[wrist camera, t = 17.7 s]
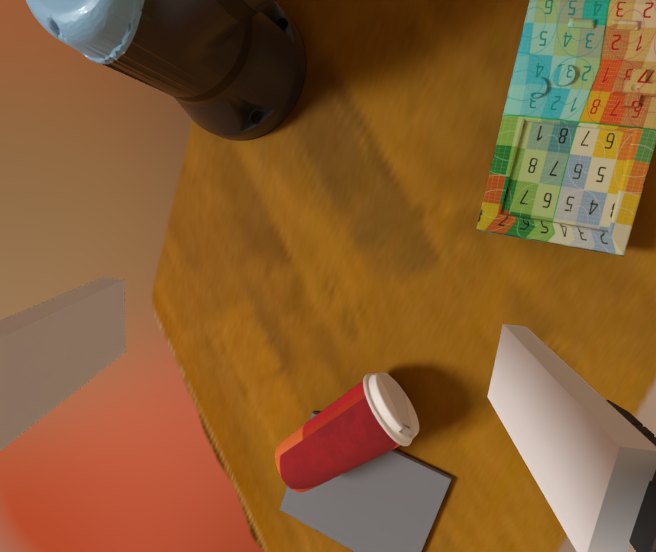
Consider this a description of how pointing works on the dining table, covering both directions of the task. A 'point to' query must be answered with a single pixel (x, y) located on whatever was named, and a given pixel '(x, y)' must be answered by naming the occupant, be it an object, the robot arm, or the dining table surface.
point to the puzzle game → (576, 126)
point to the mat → (374, 504)
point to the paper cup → (348, 433)
